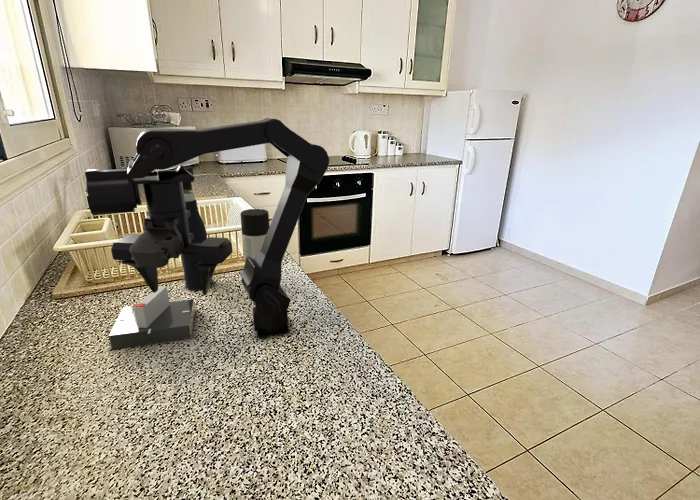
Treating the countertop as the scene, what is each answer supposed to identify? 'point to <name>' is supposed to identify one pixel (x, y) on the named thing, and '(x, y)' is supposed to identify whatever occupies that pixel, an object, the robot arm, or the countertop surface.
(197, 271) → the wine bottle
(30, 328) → the countertop surface
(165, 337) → the block
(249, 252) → the spray can
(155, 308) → the knob
